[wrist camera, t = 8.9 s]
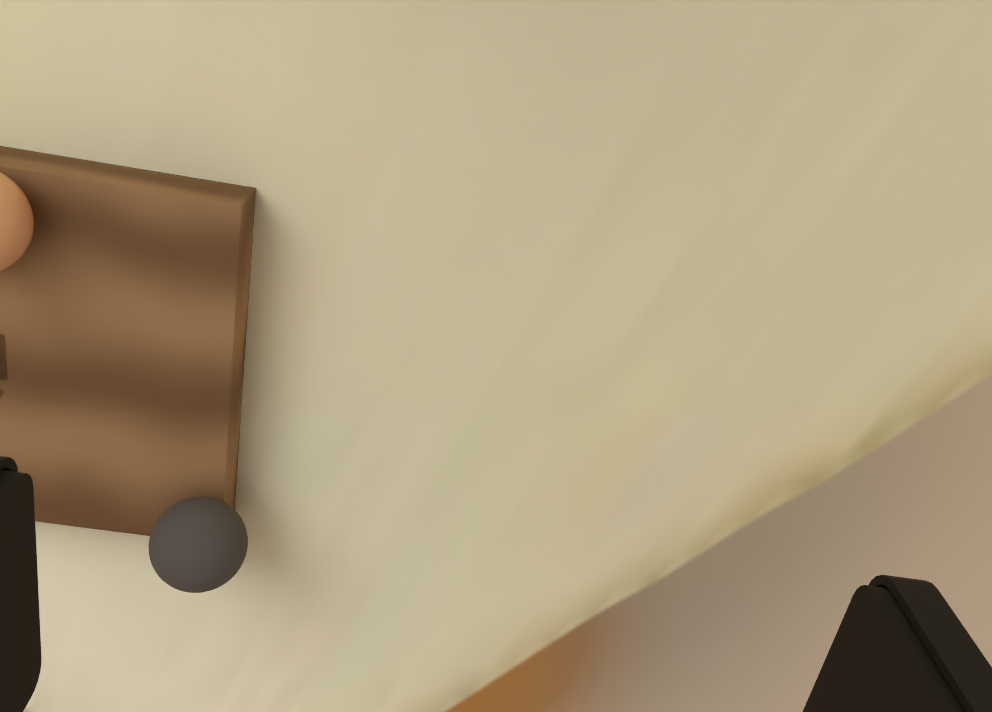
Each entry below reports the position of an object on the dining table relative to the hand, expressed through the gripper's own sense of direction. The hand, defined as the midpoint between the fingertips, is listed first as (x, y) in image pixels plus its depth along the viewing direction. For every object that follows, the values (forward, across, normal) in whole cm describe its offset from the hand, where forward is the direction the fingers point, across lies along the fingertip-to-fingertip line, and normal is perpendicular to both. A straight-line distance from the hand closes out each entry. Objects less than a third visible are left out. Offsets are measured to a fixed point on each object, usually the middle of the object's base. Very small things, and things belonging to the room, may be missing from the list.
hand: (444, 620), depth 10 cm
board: (+28, +18, +12) cm, 35 cm away
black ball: (+24, +8, +18) cm, 31 cm away
